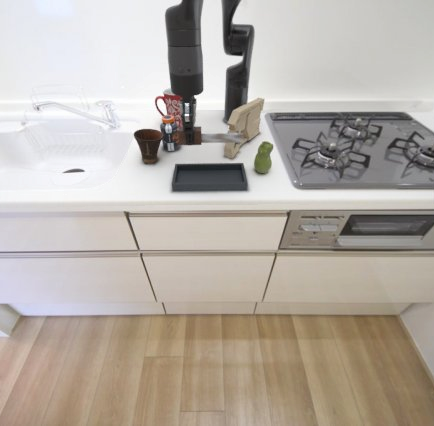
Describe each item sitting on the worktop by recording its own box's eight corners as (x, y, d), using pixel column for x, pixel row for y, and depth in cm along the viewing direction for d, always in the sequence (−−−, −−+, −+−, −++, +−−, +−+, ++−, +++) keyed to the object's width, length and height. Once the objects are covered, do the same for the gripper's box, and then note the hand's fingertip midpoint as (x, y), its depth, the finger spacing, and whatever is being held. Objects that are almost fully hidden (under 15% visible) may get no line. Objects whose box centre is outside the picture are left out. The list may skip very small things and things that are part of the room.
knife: (241, 140, 65) (242, 125, 62) (242, 144, 63) (243, 130, 61) (179, 140, 65) (178, 126, 62) (179, 145, 63) (177, 131, 61)
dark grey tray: (172, 191, 69) (171, 184, 67) (176, 170, 77) (175, 163, 75) (246, 190, 69) (247, 183, 67) (242, 169, 77) (243, 162, 75)
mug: (187, 119, 105) (185, 86, 96) (188, 128, 99) (186, 94, 89) (158, 121, 104) (153, 88, 95) (158, 130, 98) (152, 95, 88)
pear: (258, 164, 79) (263, 136, 72) (273, 170, 76) (279, 141, 69) (249, 172, 76) (253, 143, 69) (264, 178, 73) (269, 149, 66)
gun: (230, 160, 80) (236, 115, 71) (222, 158, 82) (226, 113, 72) (258, 138, 96) (265, 98, 87) (251, 136, 98) (257, 96, 88)
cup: (171, 160, 81) (168, 132, 74) (149, 170, 77) (143, 142, 70) (157, 150, 86) (152, 123, 79) (135, 160, 81) (128, 132, 74)
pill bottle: (176, 152, 85) (173, 121, 77) (161, 150, 86) (156, 120, 78) (181, 144, 89) (178, 114, 81) (166, 143, 90) (162, 112, 82)
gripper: (202, 77, 47) (204, 155, 59) (203, 61, 57) (204, 130, 69) (165, 78, 47) (174, 155, 59) (172, 61, 57) (178, 130, 69)
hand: (190, 141), depth 64 cm, fingers closed on knife, 2 cm apart
